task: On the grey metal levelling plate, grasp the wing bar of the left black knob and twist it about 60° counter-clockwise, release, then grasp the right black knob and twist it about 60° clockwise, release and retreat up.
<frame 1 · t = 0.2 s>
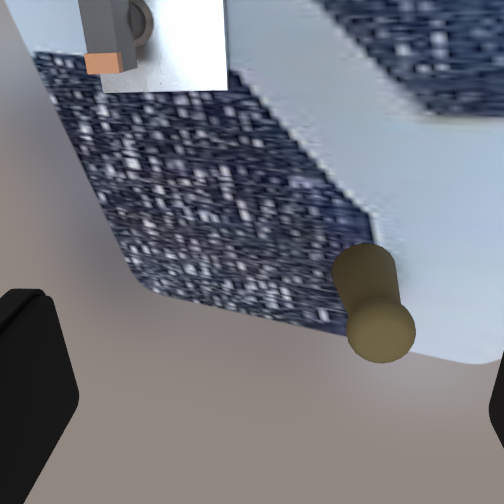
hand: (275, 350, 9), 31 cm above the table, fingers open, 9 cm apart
cork: (363, 270, 43), on the table
knob b: (113, 21, 30), point 5 cm above the table, hinge at 0.0°
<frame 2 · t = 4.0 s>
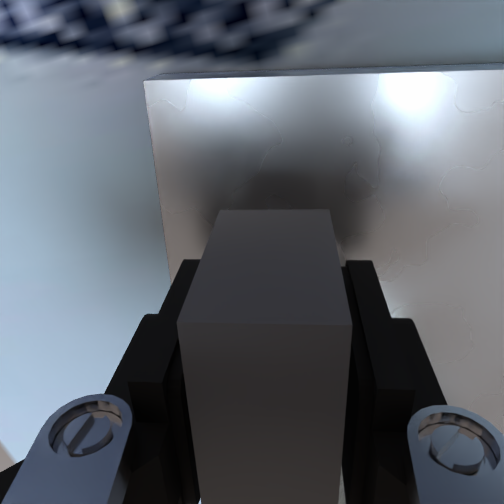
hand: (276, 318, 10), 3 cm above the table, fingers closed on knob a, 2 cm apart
knob a: (274, 364, 9), point 5 cm above the table, hinge at 0.0°, touching gripper
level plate: (335, 440, 17), on the table
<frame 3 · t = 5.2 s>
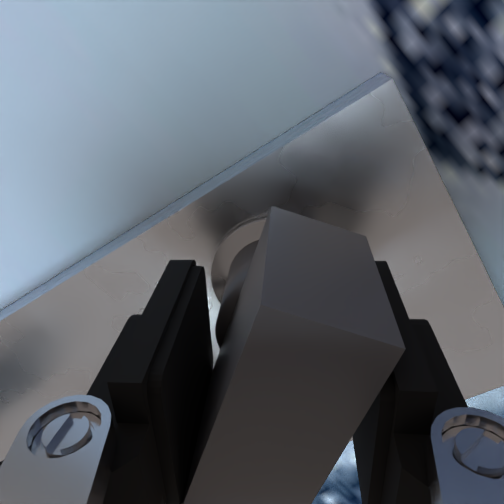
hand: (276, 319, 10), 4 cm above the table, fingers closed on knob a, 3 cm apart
knob a: (270, 355, 10), point 5 cm above the table, hinge at 39.7°, touching gripper
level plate: (126, 385, 17), on the table
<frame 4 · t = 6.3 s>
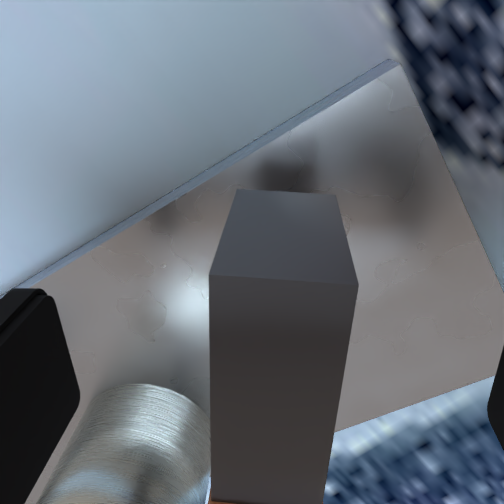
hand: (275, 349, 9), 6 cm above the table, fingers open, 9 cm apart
knob a: (276, 333, 10), point 5 cm above the table, hinge at 55.9°
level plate: (128, 370, 17), on the table
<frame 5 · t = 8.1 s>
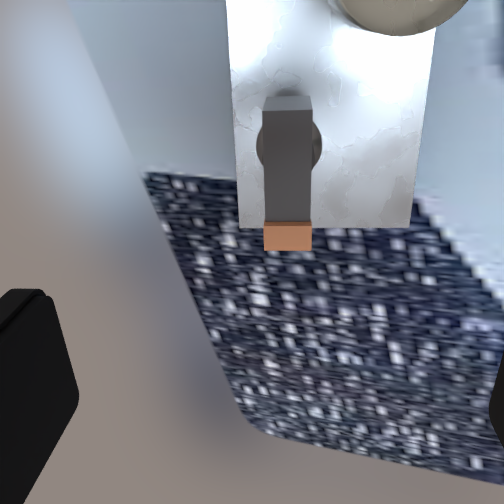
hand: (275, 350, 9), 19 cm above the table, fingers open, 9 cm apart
knob b: (288, 164, 21), point 5 cm above the table, hinge at 0.0°
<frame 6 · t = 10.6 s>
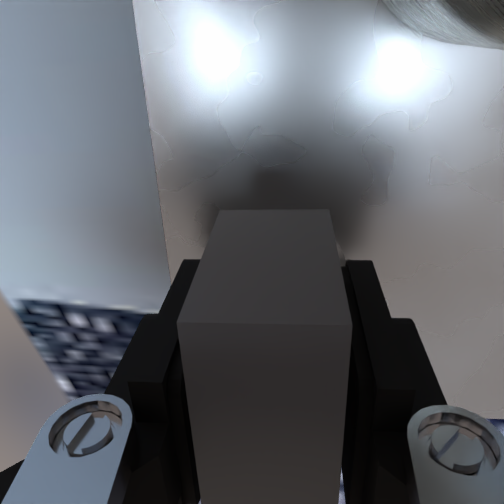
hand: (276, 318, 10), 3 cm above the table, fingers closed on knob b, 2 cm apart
knob b: (274, 364, 9), point 5 cm above the table, hinge at 0.0°, touching gripper
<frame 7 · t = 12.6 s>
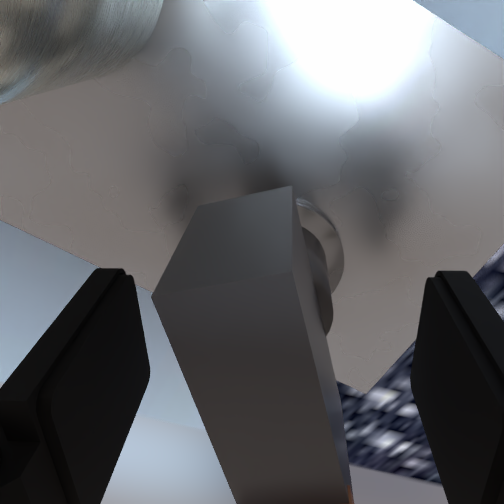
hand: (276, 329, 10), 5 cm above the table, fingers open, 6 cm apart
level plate: (61, 45, 12), on the table
knob b: (275, 334, 10), point 5 cm above the table, hinge at -47.7°
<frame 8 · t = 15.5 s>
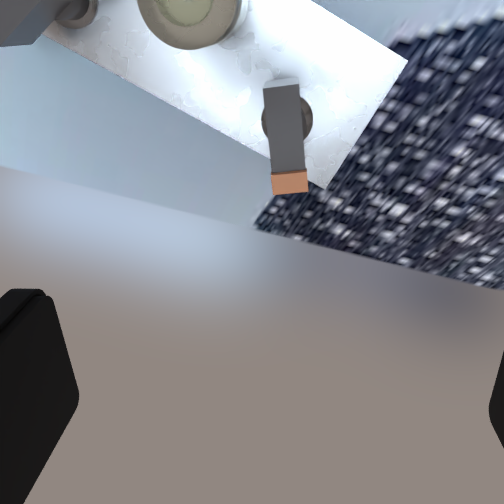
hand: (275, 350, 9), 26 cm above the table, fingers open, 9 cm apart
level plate: (199, 31, 31), on the table
knob b: (286, 130, 28), point 5 cm above the table, hinge at -54.6°
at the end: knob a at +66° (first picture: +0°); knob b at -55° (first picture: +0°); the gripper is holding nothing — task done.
